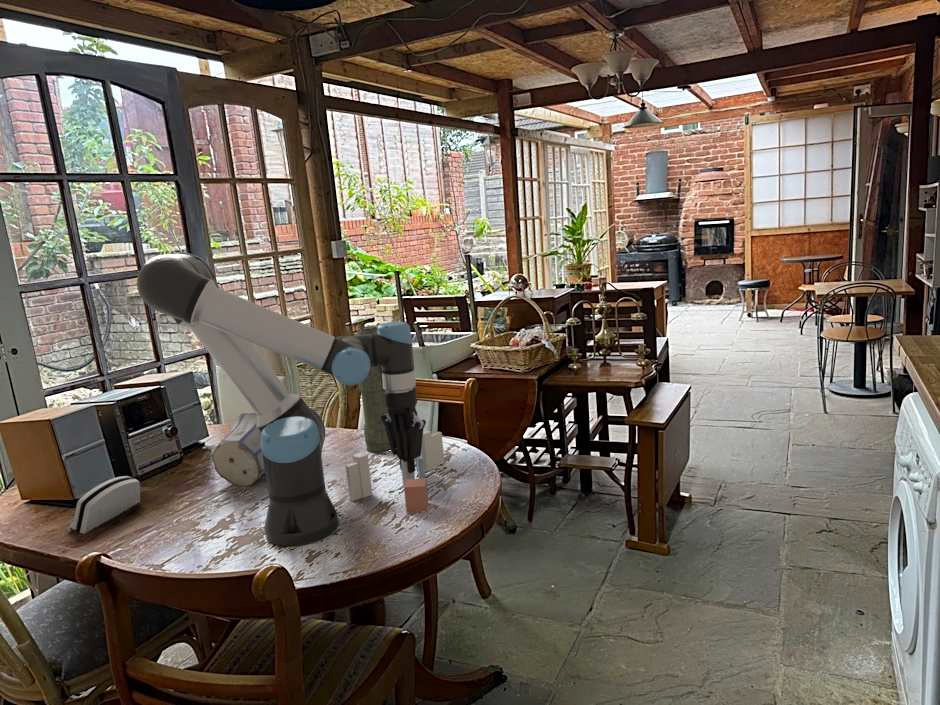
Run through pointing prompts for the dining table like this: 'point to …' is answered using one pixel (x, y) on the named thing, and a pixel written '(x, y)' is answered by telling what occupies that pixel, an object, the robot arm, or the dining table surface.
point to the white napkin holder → (105, 503)
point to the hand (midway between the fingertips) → (409, 484)
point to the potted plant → (240, 452)
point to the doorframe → (361, 475)
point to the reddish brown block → (416, 495)
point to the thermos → (374, 405)
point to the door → (420, 467)
